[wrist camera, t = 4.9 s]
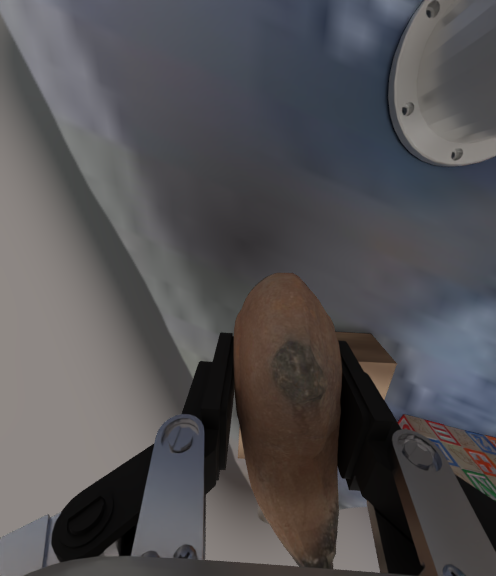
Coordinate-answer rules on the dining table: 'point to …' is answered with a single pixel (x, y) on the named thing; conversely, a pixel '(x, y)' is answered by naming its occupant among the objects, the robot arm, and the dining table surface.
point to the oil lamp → (290, 413)
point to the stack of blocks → (461, 451)
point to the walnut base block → (363, 364)
